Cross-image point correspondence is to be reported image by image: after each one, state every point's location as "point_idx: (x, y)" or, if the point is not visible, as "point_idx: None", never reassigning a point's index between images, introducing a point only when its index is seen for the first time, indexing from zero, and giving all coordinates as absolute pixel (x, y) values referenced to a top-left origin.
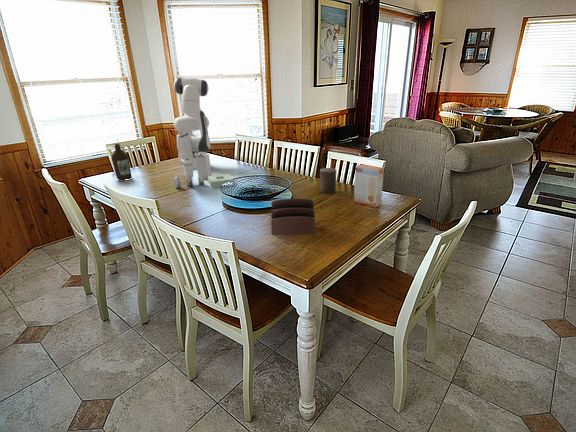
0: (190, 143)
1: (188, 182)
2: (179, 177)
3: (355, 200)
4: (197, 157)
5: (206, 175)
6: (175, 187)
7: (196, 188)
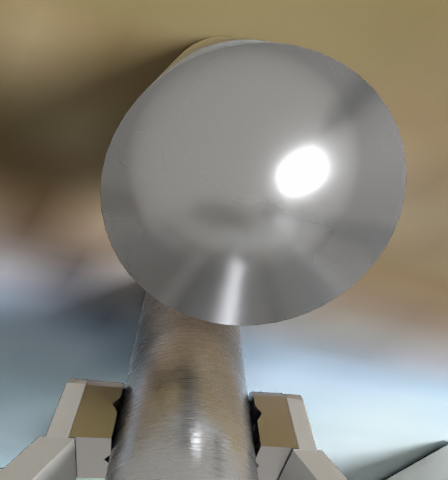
0: None
1: (137, 349)
2: (180, 312)
3: None
4: None
5: None
6: (213, 37)
7: (28, 347)
